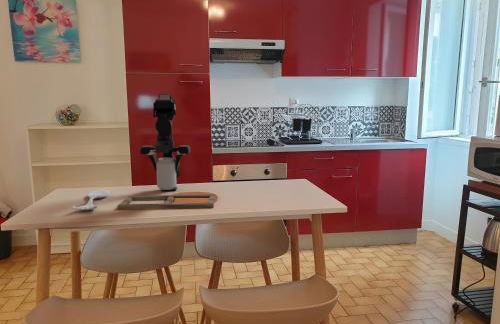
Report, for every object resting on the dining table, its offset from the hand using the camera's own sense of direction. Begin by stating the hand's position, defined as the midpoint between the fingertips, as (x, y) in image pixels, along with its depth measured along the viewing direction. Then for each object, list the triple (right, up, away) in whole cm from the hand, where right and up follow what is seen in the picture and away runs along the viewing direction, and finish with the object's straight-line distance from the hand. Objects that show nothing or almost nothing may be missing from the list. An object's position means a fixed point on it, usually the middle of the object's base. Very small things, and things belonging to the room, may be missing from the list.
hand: (166, 171), depth 153 cm
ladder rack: (+1, -13, +2) cm, 13 cm away
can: (0, -7, +1) cm, 7 cm away
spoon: (-30, -13, +3) cm, 33 cm away
